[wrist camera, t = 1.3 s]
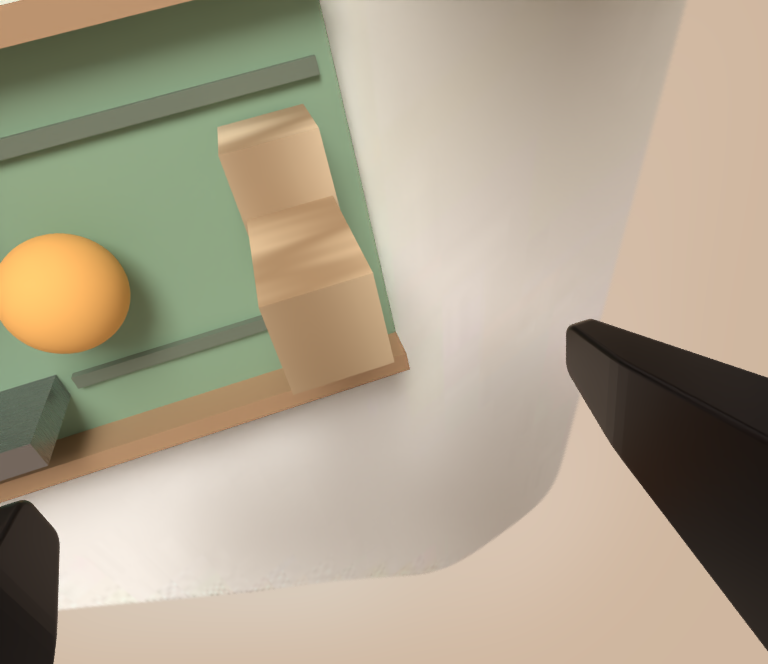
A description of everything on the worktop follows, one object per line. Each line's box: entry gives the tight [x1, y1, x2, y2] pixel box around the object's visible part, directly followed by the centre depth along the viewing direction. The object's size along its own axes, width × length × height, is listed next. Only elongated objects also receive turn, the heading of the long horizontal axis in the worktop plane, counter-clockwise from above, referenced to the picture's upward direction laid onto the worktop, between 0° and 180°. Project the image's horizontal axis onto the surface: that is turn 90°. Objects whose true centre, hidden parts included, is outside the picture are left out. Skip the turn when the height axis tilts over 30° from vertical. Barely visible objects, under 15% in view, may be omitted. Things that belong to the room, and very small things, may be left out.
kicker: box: [217, 104, 394, 395], centre depth 15 cm, size 3×6×8 cm, turn 12°
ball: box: [0, 233, 130, 354], centre depth 16 cm, size 4×4×4 cm
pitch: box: [0, 0, 410, 503], centre depth 18 cm, size 18×14×2 cm
